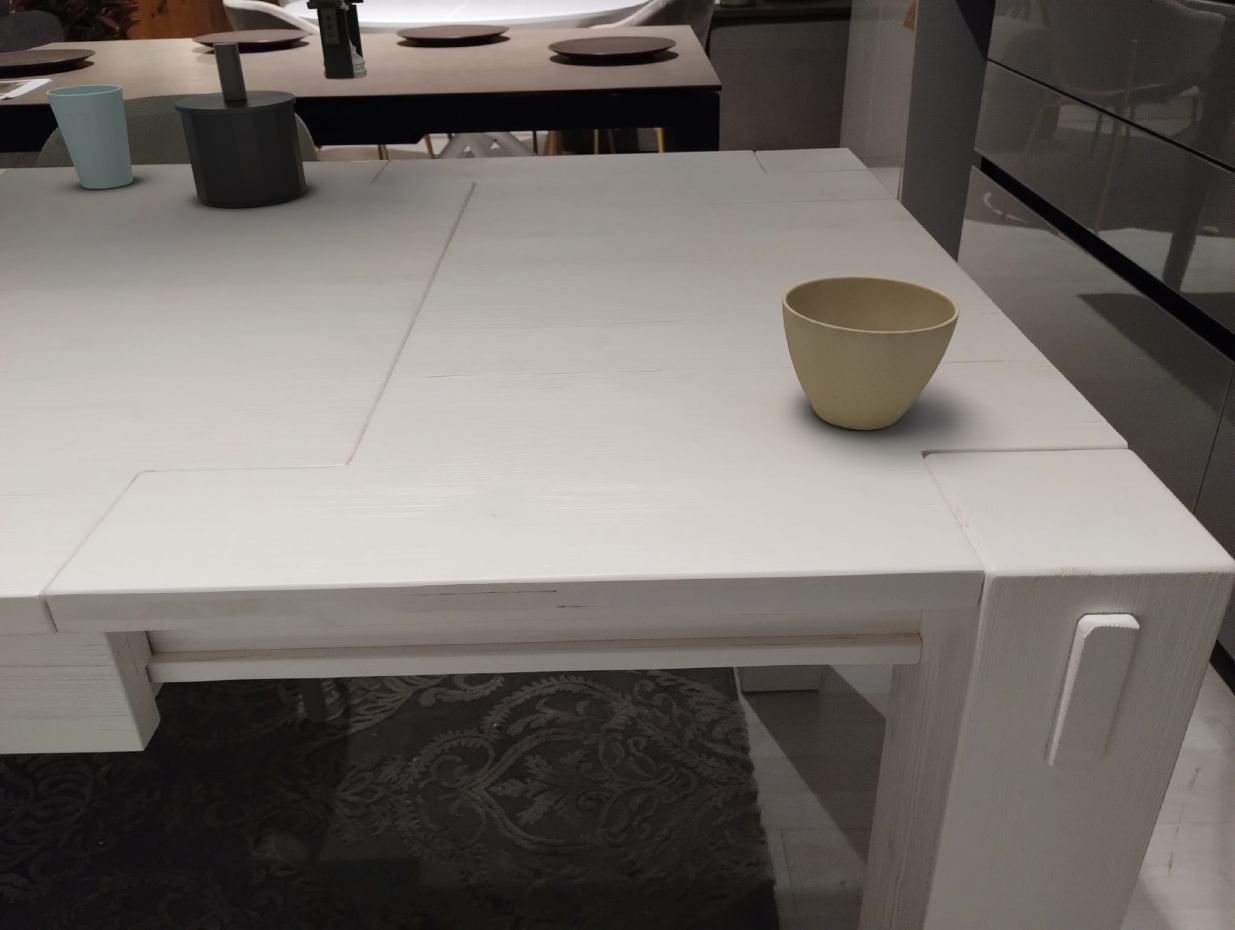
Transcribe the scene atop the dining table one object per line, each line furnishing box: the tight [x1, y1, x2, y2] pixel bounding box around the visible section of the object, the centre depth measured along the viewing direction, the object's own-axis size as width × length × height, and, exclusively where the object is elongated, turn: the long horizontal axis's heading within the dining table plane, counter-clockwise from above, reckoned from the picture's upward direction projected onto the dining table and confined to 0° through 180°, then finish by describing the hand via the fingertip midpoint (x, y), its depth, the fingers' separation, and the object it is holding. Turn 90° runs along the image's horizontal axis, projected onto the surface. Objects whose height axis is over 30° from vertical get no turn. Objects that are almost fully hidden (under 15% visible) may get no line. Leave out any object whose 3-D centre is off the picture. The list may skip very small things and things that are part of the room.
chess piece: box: [322, 0, 368, 81], centre depth 104 cm, size 4×4×10 cm
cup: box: [45, 84, 134, 190], centre depth 115 cm, size 8×8×10 cm
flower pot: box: [781, 274, 961, 431], centre depth 60 cm, size 10×10×7 cm
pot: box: [179, 104, 307, 209], centre depth 110 cm, size 11×11×10 cm
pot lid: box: [173, 41, 297, 115], centre depth 106 cm, size 12×12×7 cm
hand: (346, 74), depth 106 cm, fingers closed on chess piece, 4 cm apart
